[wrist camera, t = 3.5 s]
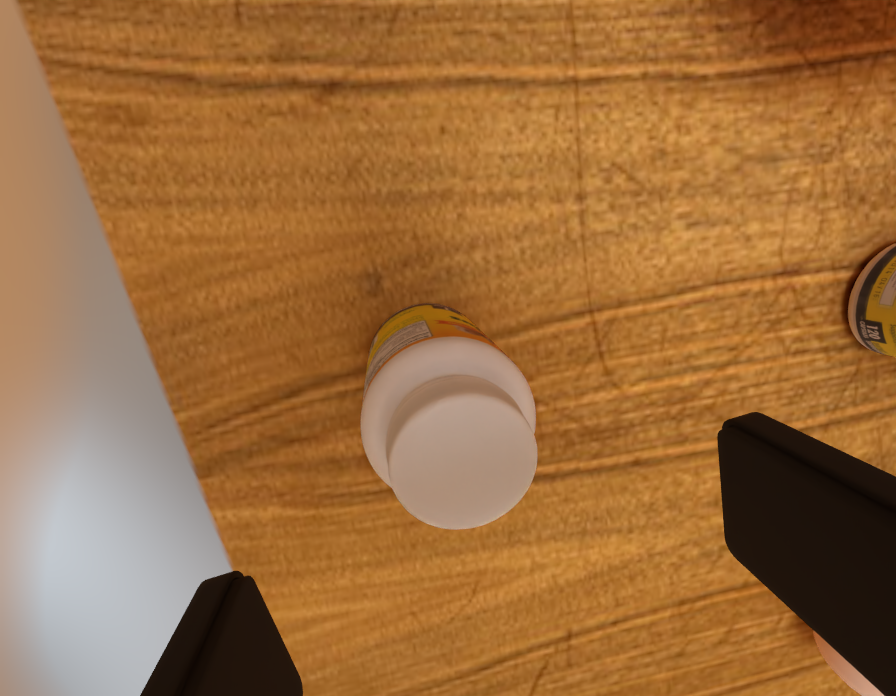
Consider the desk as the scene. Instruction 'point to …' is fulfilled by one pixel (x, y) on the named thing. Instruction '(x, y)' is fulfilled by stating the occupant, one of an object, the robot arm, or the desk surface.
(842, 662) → the egg
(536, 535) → the desk surface
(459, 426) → the supplement bottle
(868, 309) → the pill bottle
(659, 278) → the desk surface
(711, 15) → the desk surface
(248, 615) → the robot arm
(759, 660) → the desk surface
